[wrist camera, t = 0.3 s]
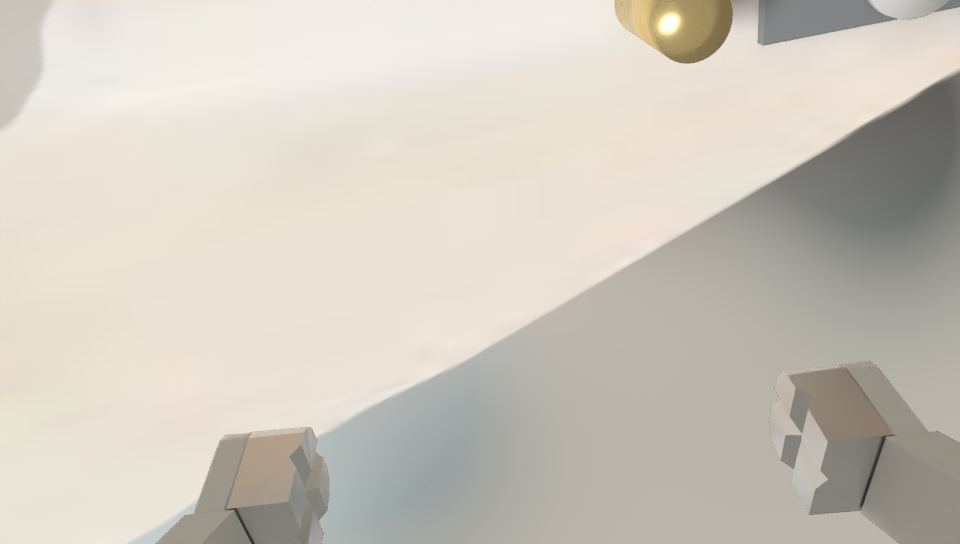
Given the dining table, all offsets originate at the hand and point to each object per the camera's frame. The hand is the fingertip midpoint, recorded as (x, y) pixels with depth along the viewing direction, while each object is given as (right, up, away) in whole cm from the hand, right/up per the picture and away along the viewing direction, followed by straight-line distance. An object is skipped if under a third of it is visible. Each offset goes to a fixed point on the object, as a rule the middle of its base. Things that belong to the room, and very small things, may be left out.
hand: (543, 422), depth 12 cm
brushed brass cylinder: (+12, +24, +41) cm, 49 cm away
